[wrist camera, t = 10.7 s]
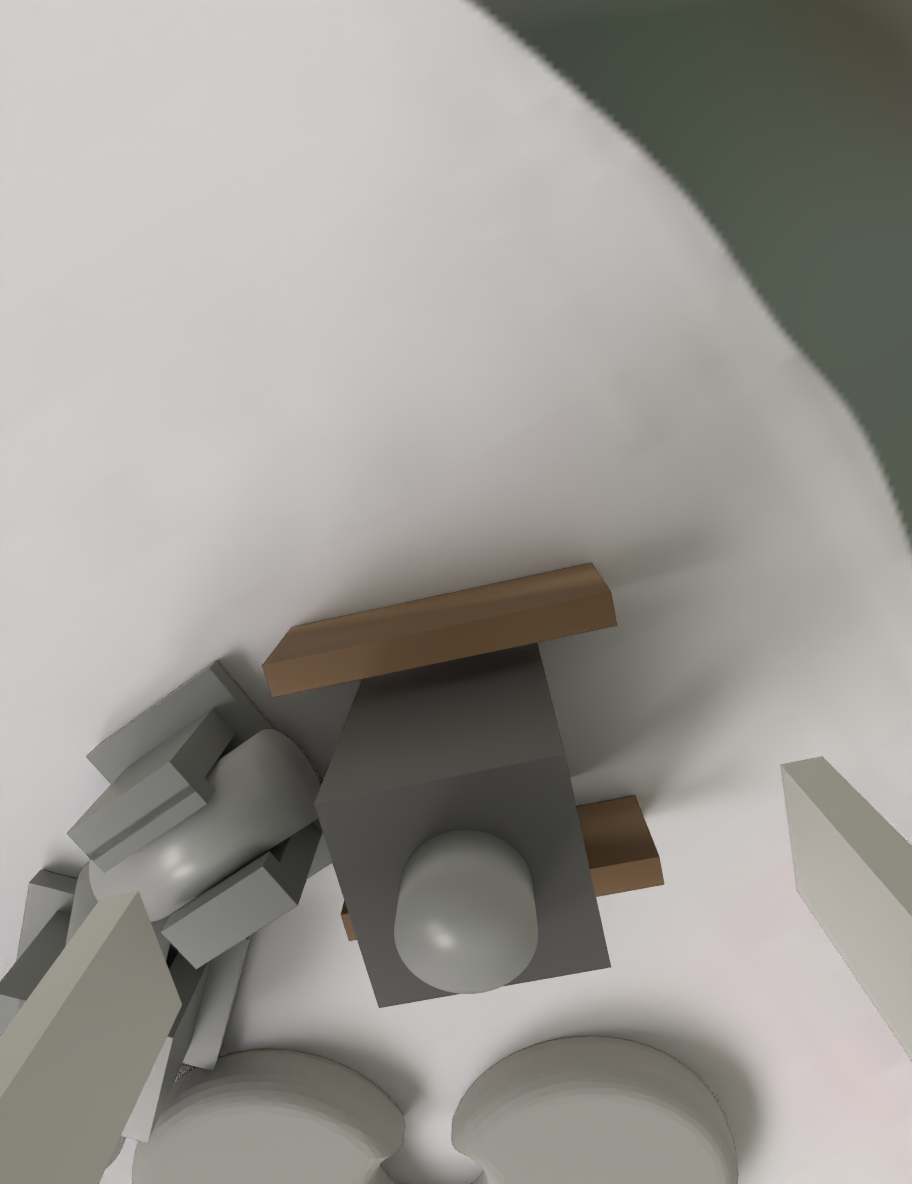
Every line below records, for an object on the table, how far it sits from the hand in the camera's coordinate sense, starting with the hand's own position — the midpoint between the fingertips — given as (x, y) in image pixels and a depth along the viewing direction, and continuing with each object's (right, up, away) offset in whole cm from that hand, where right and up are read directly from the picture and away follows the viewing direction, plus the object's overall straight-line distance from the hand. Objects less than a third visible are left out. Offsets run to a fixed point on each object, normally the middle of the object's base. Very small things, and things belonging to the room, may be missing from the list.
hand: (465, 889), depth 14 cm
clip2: (-7, 0, +7) cm, 9 cm away
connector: (0, +2, +6) cm, 6 cm away
